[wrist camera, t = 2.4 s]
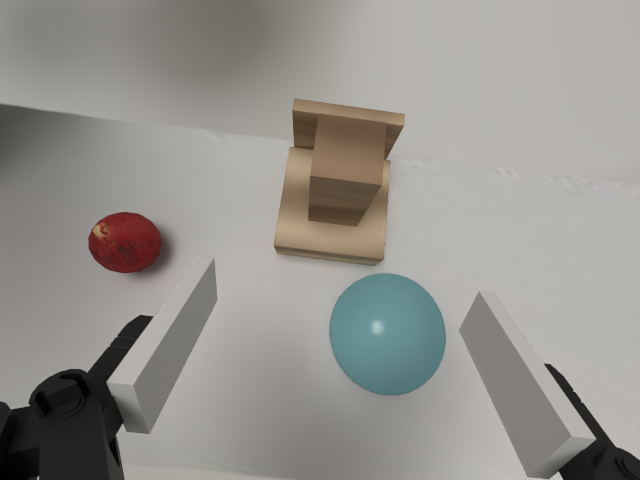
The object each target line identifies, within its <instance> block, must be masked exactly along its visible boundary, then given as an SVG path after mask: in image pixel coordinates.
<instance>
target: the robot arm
mask: <svg viewBox="0 0 640 480" xmlns="http://www.w3.org/2000/svg"><path fill="white" fill-rule="evenodd" d="M216 302H217V289H216V275H215V262H214V257H207V256H199V255H198V257H197V258H196V259H195V261H194V262H193V264H192V265H191V266H190V268H189V269H188V270H187V272H186V273H185V275H184V276H183V277H182V279H181V280H180V281H179V283H178V284H177V286H176V287H175V288H174V290H173V291H172V292H171V294H170V295H169V297H168V298H167V299H166V301H165V302H164V303H163V305H162V306H161V308H160V309H159V310H158V312H157V313H156V315H155V316H154V317H153V316H145V315H139V316H138V317H136V318H135V319H133V320H132V321H131V322H129V323H128V324H127V325H126V326H125V327H124V328H123V329H122V331H121V332H120V333H119V334H118V337H117V338H115V339H114V341H113V342H112V343H111V344H110V347H108V348H107V349H106V350H105V352H104V353H103V354H102V355H101V357H100V358H99V359H98V360H97V362H96V363H95V364H94V365H93V367H92V368H91V369H90V370H89V371H88V373H87V372H85V371H83V370H81V369H69V370H65V371H61V372H59V373H57V374H55V375H53V376H51V377H48V378H47V379H46V380H45V381H43V382H42V383H41V384H39V385H38V386H37V388H36V389H35V390H34V391H33V393H32V394H31V397H30V400H29V404H30V406H29V407H23V408H18V409H12V410H11V409H10V408H9V406H8V405H7V404H6V403H4V402H0V480H37V477H38V476H39V480H124V474H123V469H122V463H121V457H120V452H119V446H118V441H117V437H116V434H117V432H118V430H119V429H120V427H121V425H122V424H124V426H125V429H126V431H127V432H135V433H144V434H150V432H151V430H152V428H153V426H154V424H155V422H156V420H157V418H158V416H159V414H160V412H161V410H162V408H163V406H164V404H165V402H166V400H167V398H168V396H169V394H170V392H171V390H172V389H173V387H174V385H175V383H176V381H177V379H178V377H179V375H180V373H181V371H182V369H183V367H184V365H185V363H186V361H187V359H188V357H189V355H190V353H191V351H192V349H193V347H194V345H195V343H196V341H197V339H198V337H199V335H200V333H201V331H202V329H203V327H204V325H205V323H206V321H207V319H208V317H209V315H210V313H211V312H212V310H213V308H214V306H215V304H216ZM459 331H460V333H461V336H462V338H463V340H464V342H465V344H466V346H467V348H468V351H469V353H470V355H471V357H472V359H473V361H474V363H475V365H476V368H477V370H478V372H479V374H480V376H481V378H482V380H483V383H484V385H485V387H486V389H487V391H488V393H489V395H490V398H491V400H492V402H493V404H494V406H495V408H496V410H497V412H498V415H499V417H500V419H501V421H502V423H503V425H504V427H505V430H506V432H507V434H508V436H509V438H510V440H511V442H512V445H513V447H514V449H515V451H516V453H517V455H518V457H519V459H520V462H521V464H522V466H523V468H524V470H525V472H526V474H527V477H534V478H543V479H550V478H551V477H552V476H553V475H554V474H556V473H557V472H558V471H559V473H560V474H561V476H562V478H563V480H640V460H639V459H637V458H636V457H635V456H633V455H632V454H631V453H629V452H627V451H625V450H623V449H621V448H617V447H616V446H615V445H614V444H613V443H612V441H611V440H610V439H609V437H608V436H607V435H606V433H605V432H604V431H603V429H602V428H601V427H600V425H599V424H598V422H597V421H596V420H595V418H594V417H593V416H592V414H591V413H590V412H589V410H588V409H587V408H586V406H585V405H584V403H581V399H580V398H579V397H578V395H577V394H576V393H575V392H573V388H572V387H571V386H570V384H569V383H568V382H567V380H566V379H565V378H564V376H563V375H562V374H560V373H559V372H558V371H557V370H556V369H555V368H554V367H553V366H552V365H550V364H543V362H542V361H541V359H540V358H539V356H538V355H537V354H536V352H535V351H534V349H533V348H532V346H531V345H530V344H529V342H528V341H527V339H526V338H525V336H524V335H523V334H522V332H521V331H520V329H519V328H518V326H517V325H516V324H515V322H514V321H513V319H512V318H511V316H510V315H509V314H508V312H507V311H506V309H505V308H504V306H503V305H502V304H501V302H500V301H499V299H498V298H497V296H496V295H495V294H494V293H489V292H481V291H479V292H478V294H477V296H476V298H475V300H474V302H473V304H472V306H471V308H470V310H469V312H468V313H467V315H466V317H465V319H464V321H463V323H462V325H461V327H460V329H459Z"/></svg>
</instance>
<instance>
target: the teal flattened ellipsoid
mask: <svg viewBox="0 0 640 480" xmlns="http://www.w3.org/2000/svg"><path fill="white" fill-rule="evenodd" d="M330 340H331V345H332V349H333V352H334V354H335V357H336V359H337V361H338V363H339V364H340V366H341V367H342V369H343V370H344V371H345V373H346V374H347V375H348V376H349V377H350V378H351V379H352V380H353V381H354V382H356V383H357V384H358V385H360V386H361V387H363V388H365V389H367V390H369V391H371V392H374V393H378V394H383V395H400V394H405V393H408V392H411V391H413V390H415V389H417V388H419V387H420V386H422V385H423V384H425V383H426V382H427V381H428V380H429V379H430V378H431V377H432V376H433V374H434V373H435V372H436V370H437V368H438V367H439V365H440V362H441V360H442V357H443V354H444V350H445V342H446V333H445V325H444V321H443V318H442V315H441V312H440V310H439V308H438V306H437V304H436V303H435V301H434V299H433V298H432V297H431V296H430V294H429V293H428V292H427V291H426V290H425V289H424V288H423V287H421V286H420V285H419V284H417V283H416V282H414V281H412V280H411V279H408V278H406V277H403V276H400V275H396V274H386V273H382V274H374V275H371V276H367V277H365V278H362V279H360V280H359V281H357V282H355V283H354V284H352V285H351V286H350V287H348V288H347V289H346V290H345V291H344V292H343V294H342V295H341V296H340V298H339V299H338V301H337V303H336V305H335V307H334V310H333V312H332V316H331V321H330Z"/></svg>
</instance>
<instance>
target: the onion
mask: <svg viewBox="0 0 640 480" xmlns="http://www.w3.org/2000/svg"><path fill="white" fill-rule="evenodd" d="M161 244H162V243H161V237H160V233H159V231H158V230H157V228H156V227H155V225H154V224H153V223H152V222H151V221H150V220H148V219H146V218H145V217H143V216H142V215H139V214H137V213H128V212H121V213H116V214H112V215H109V216H107V217H105V218H103V219H102V220H100V221H99V222H98V223H97V224H96V225H95V226H94V228H93V229H92V231H91V233H90V236H89V250H90V252H91V254H92V256H93V258H94V259H95V260H96V261H97V262H98V263H99V264H101V265H102V266H103V267H105V268H106V269H108V270H111V271H115V272H120V273H132V272H139V271H142V270H143V269H145V268H147V267H148V266H150V265H152V264H153V262H154V261H155V260H156V258H157V257H158V255H159V254H160V249H161Z"/></svg>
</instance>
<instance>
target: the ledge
mask: <svg viewBox="0 0 640 480" xmlns="http://www.w3.org/2000/svg"><path fill="white" fill-rule="evenodd" d="M292 112H293V131H294V147H290V148H289V155H288V161H287V167H286V173H285V179H284V185H283V192H282V198H281V204H280V210H279V216H278V222H277V229H276V235H275V241H274V247H275V249H276V251H277V253H279V254H287V255H295V256H303V257H310V258H318V259H326V260H334V261H342V262H350V263H358V264H365V265H373V266H375V265H376V264H378V263H379V262H381V261H382V260H384V249H385V234H386V218H387V203H388V188H389V173H390V160H386V158H387V157H388V155H389V153H390V151H391V149H392V147H393V145H394V144H395V142H396V140H397V138H398V136H399V134H400V132H401V130H402V129H403V127H404V117H405V114H401V113H393V112H386V111H379V110H372V109H365V108H358V107H351V106H343V105H336V104H329V103H322V102H315V101H308V100H300V99H294V103H293V109H292ZM319 113H322V114H329V115H336V116H343V117H350V118H357V119H365V120H372V121H379V122H386V123H387V125H386V139H385V153H384V167H383V181H382V186H381V188H380V190H379V191H378V193H377V194H376V196H375V198H374V199H373V201H372V203H371V204H370V206H369V207H368V209H367V211H366V212H365V214H364V216H363V217H362V219H361V221H360V222H359V224H358V225H357V227H354V226H347V225H339V224H331V223H324V222H316V221H308V208H309V187H310V173H311V165H312V158H313V151H314V144H315V137H316V129H317V122H318V115H319Z"/></svg>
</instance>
